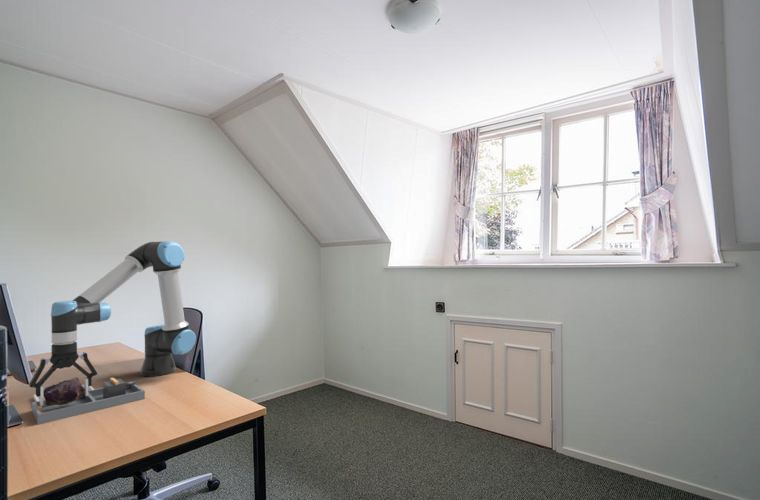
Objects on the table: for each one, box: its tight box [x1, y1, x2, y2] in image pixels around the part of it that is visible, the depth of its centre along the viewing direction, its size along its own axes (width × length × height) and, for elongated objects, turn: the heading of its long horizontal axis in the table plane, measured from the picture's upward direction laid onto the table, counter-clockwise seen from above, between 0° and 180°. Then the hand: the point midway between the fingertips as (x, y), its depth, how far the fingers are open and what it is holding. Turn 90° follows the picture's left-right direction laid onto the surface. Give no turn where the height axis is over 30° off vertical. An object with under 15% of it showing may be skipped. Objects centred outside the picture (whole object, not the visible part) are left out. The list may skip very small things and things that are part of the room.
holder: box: [31, 377, 146, 425], centre depth 157 cm, size 33×17×8 cm, turn 136°
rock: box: [43, 377, 85, 406], centre depth 151 cm, size 12×9×10 cm
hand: (64, 399), depth 151 cm, fingers closed on rock, 13 cm apart
